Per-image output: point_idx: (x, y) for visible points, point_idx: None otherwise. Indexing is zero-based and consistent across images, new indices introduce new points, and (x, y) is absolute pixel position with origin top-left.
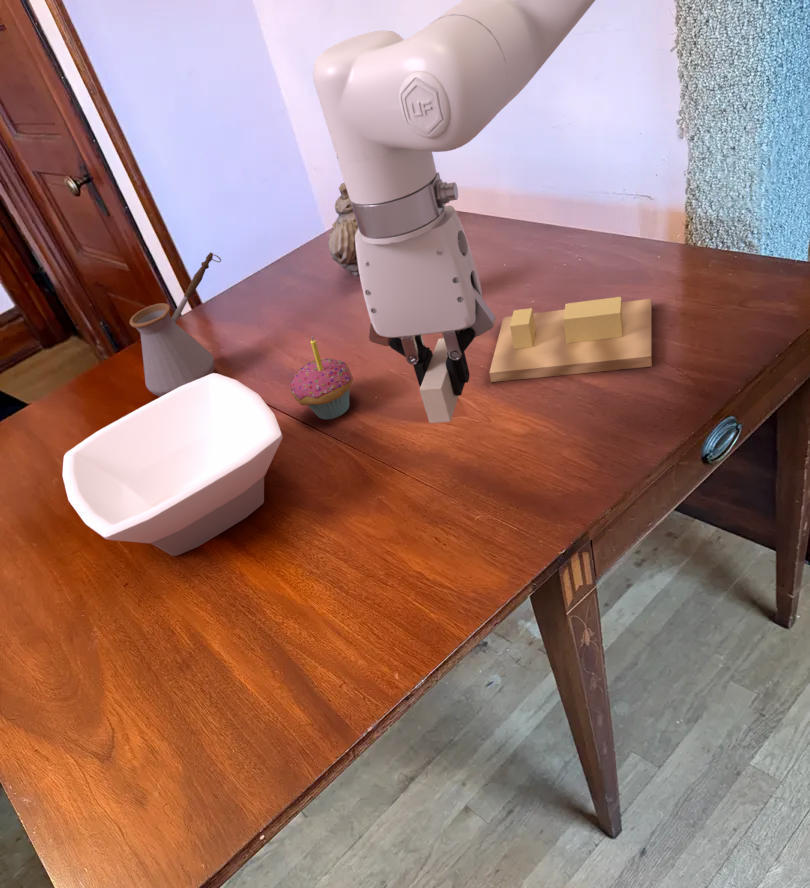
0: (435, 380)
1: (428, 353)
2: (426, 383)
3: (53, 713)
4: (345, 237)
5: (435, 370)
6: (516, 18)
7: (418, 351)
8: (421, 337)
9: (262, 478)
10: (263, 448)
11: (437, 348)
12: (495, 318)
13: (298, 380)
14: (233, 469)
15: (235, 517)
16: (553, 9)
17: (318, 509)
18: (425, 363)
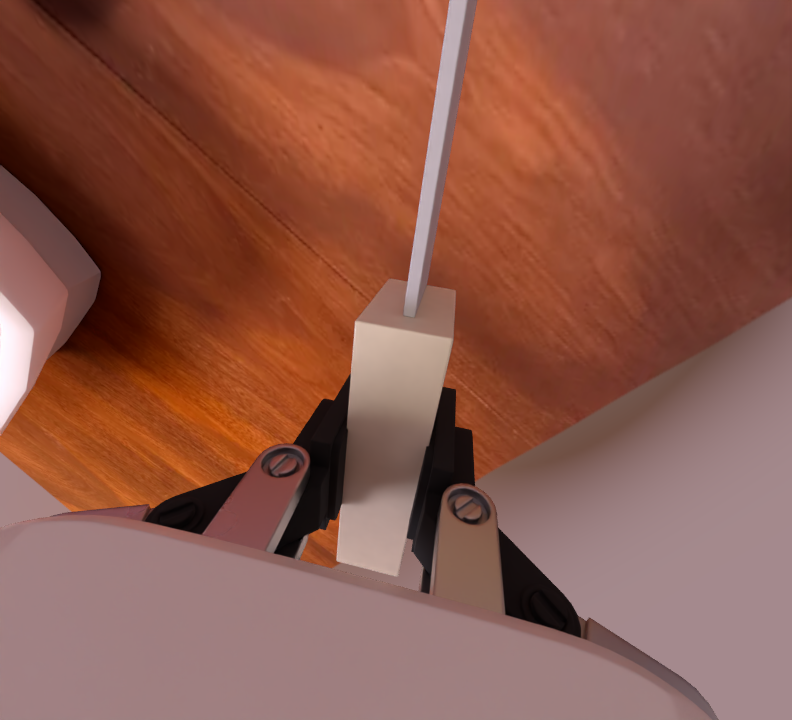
0: (377, 546)
1: (334, 472)
2: (352, 548)
3: (85, 498)
4: None
5: (371, 510)
6: None
7: (299, 533)
8: (291, 512)
9: (68, 292)
10: (27, 364)
11: (360, 394)
12: (712, 710)
13: None
14: (14, 405)
15: (80, 315)
16: None
17: (196, 304)
18: (334, 514)
